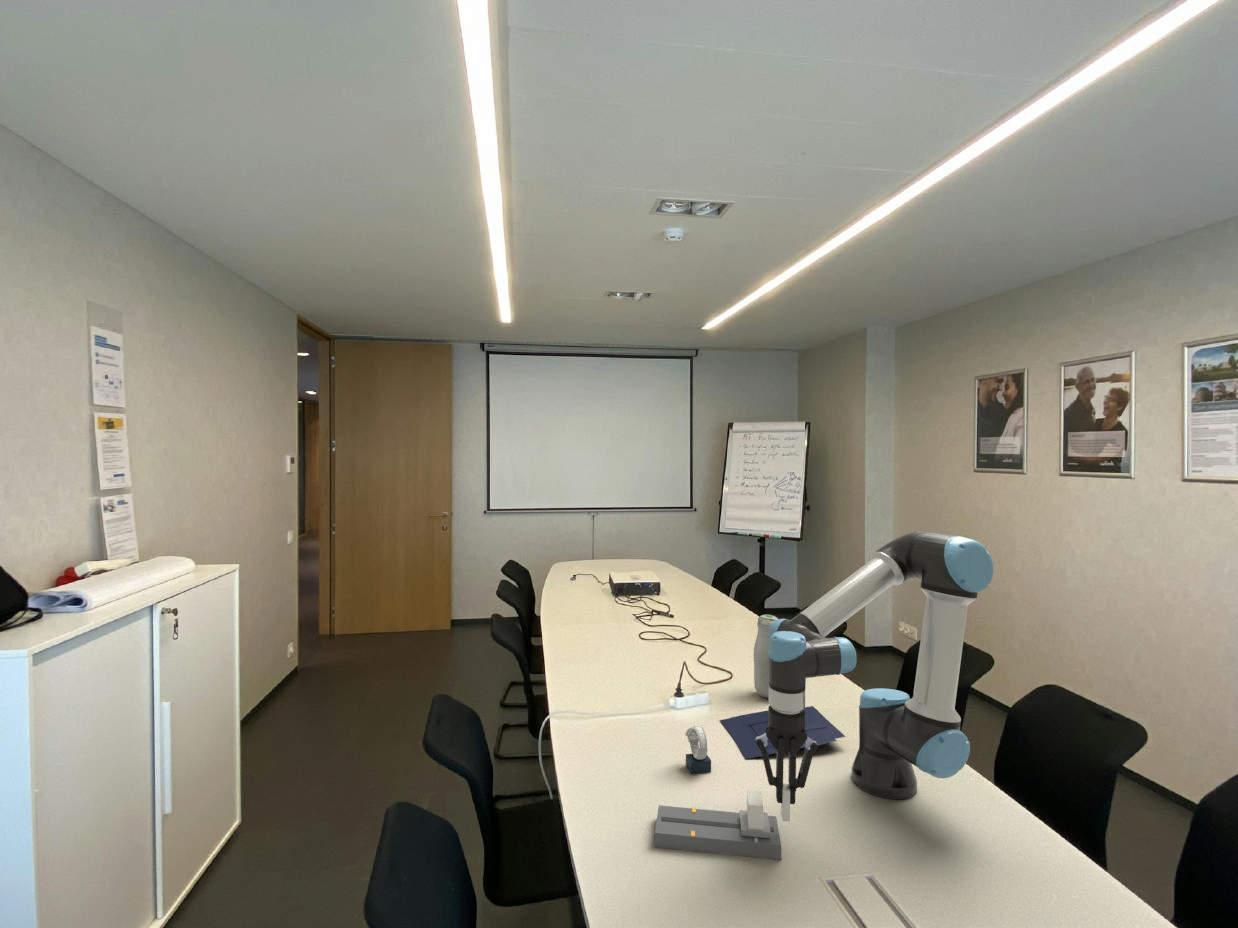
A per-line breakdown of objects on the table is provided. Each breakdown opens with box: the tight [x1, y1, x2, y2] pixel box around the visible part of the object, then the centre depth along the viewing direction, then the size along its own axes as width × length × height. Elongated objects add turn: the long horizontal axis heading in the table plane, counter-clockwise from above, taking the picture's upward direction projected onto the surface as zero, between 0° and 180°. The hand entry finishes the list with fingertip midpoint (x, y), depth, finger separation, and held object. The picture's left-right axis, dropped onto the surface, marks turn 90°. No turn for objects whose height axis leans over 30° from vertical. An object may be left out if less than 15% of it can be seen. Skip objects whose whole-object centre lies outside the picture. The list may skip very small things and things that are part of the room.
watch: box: [684, 724, 712, 775], centre depth 157 cm, size 6×8×11 cm
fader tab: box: [739, 789, 771, 838], centre depth 128 cm, size 6×7×6 cm
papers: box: [719, 705, 846, 760], centre depth 176 cm, size 24×30×4 cm
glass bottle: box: [753, 614, 779, 699], centre depth 205 cm, size 10×10×28 cm
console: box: [654, 804, 782, 861], centre depth 129 cm, size 26×10×3 cm, turn 81°
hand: (785, 817), depth 127 cm, fingers closed
